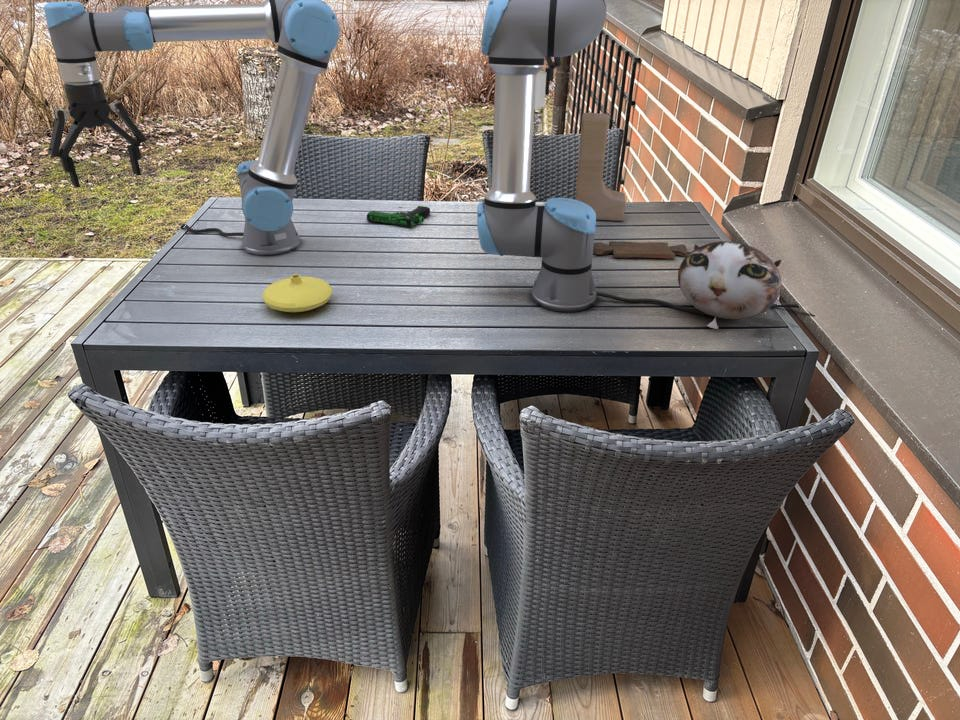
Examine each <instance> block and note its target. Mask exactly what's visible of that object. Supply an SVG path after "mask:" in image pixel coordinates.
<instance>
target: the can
mask: <svg viewBox="0 0 960 720" xmlns="http://www.w3.org/2000/svg"><path fill="white" fill-rule="evenodd" d="M546 75H547V72H545V70H542V69H541V70H540V71H539V72H538V73H537V75H536V85H535V103H534V109H541V108H544V107H545V106H546V94H545V92H546Z"/></svg>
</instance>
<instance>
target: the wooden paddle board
mask: <svg viewBox="0 0 960 720" xmlns="http://www.w3.org/2000/svg"><path fill="white" fill-rule="evenodd" d="M593 254H594V255H595V256H605V255H609V254H612V255H613V258H616V259H626V258H627V259H628V258H649V259H675V258H676V256H681V257H686V256H687V255H688V249H687V247H686V245H685V244H677V245H671V246H669V243H668V242H665V241H648V242H646V241H645V242H643V241H642V242H641V241H640V242H637V241H615V240H612V241H609V242H608V244H607V243H603V242H594V246H593Z"/></svg>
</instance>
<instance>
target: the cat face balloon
mask: <svg viewBox="0 0 960 720" xmlns="http://www.w3.org/2000/svg"><path fill="white" fill-rule="evenodd" d="M781 263H782V259H779V260H776V261H773V259H771V258H770V257H769V256H768V255H767V254H765V253H764V252H763V251H761V250H759V249H758V248H756V247H753V246H751V245H749V244H745V243H743V242H737V241H727V240H726V241H725V240H724V241H714V242H710V243H709V242H708V243H705V244H703V245H701V246H698V244H696V243H695V244H694V246H693V250H692V251H690V252H689V253H687V256H684V258H683V259H682V262H681V263H680V265H679V269H678V272H677V282H678V286H679V289H680V291H681V293H682V295H683V296H684V298H685V300H686V301H687V302H689V303H690V304H691V306H693V307H694V308H695V309H699V310H700V311H702V312H704V313H706V314H705V315H708V316H712V317H714V319H713V320H712V321H711V322H709V323H708V324H706V325H705V326H706V327H708V328H710V329H715V330H720V329H719V326H718V324H717V318H719V319H722V320H723V319H724V320H745V319H749V318H753V317H757V316H758V315H761V314H763V313H764V312H766V311H768V310H769V309H770V308H772V307H771V306H772V305H773V304H774V303H777V300H778V298H779V297H780V294H781V291H782V285H783V283H782V276H781V272H780V271H779V268H778V267H779V266H780V265H781Z"/></svg>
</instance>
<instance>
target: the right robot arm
mask: <svg viewBox="0 0 960 720" xmlns="http://www.w3.org/2000/svg"><path fill="white" fill-rule="evenodd" d="M606 19H607V4H606V1H605V0H489V1H488V3H487V7H486V11H485V14H484V21H483V27H482V34H481V47H480V48H481V55H483V56H486V57H488V63H487V65H488V66H489V68H490V69H491V70H492V71H493V72H494V76H495V77H494V101H493V102H494V105H493V129H492V130H493V131H492V132H493V134H492V158H491V159H492V160H491V161H492V162H491V164H492V165H491V188H490V189H489V190H488V191H487V192H486V193H485V194H484V201H481V202H479V203H478V205H477V208H476V210H477V211H476V216H477V217H476V224H477V235H478V241H479V245H480V248H481V250H482V251H483V252H484V254H485V253H486V254H488V255H496V256H498V255H499V256H500V257H504V256H507V257H508V256H509V257H524V258H525V257H528V258H541V267H540V269H539V271H538V273H537V276H536V277H535V279H534V282H533V286H532V289H531V299H532V301H533V302H534V303H535V304H536V305H538V306H539V307H541V308H543V309H546V310H550V311H555V312H562V313H573V312H574V313H575V312H582V311H586V310H588V309H590V308H592V307H593V306H594V305H595V304H596V302H597V296H598V297H601V298H606V299H610V300H615V301H617V302H621V303H622V302H623V303H649V304H656V305H662V306H666V307H668V308H669V307H670V308H671V309H675V310H678V311H682V312H689V313H694V314H702V315H707V314H706V313H704V312H702V311H700V310H699V309H697V308H695V307H694V308H693V307H687V306H683V305H679V304H675V303H673V302H670V301H669V302H668V301H665V300H661V299H656V298H629V297H628V298H627V297H621V296H618V295H614V294H610V293H605V292H600V291H597V287H596V284H595V280H594V276H593V271H592V266H593V256H594V250H593V246H594V243H595V234H596V233H597V227H596V226H597V220H596V214H595V211H594V210H593V209H592V208H591V207H590V206H589V205H587V204H585V203H583V202H580V201H577V200H575V198H568V197H560V196H559V197H556V198H555V197H551V198H548V199H546V200H545V202H544V205H537V202H536V201H537V197H536V195H535V194H534V193H533V192H532V191H531V173H532V156H533V155H532V154H533V140H534V139H533V137H534V122H535V121H534V119H535V108H534V103H535V85H536V75H537V73H538V72H539V71H540V70H542V69H543V68H544V67H545V62H546V64H547V67H545V68H544V69H545V70H544V71H545V72H547V75H546V92H545V96H548V95H549V94H550V82H554V73H555V72H554V71H555V69H556V68H557V67H561V65H562V62H561V58H564V57H569V56H573V55H575V54H577V53H579V52H581V51H583V50H584V49H586V48H587V47H589V46H590V45H591V44H592V43H593V42H594V41H595V40H597V38H598V37H599V35H600V34H601V33H602V30H603V29H604V27H605V25H606V24H605V23H606V22H607V21H606ZM552 58H553V59H552ZM779 303H780V304H781V305H777V304H773V305H772V306H771V307H770V308H795V309H800V308H799V306H798V304H799V303H792V302H791V303H790V302H789V303H787V302H785V303H783V302H779Z"/></svg>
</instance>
